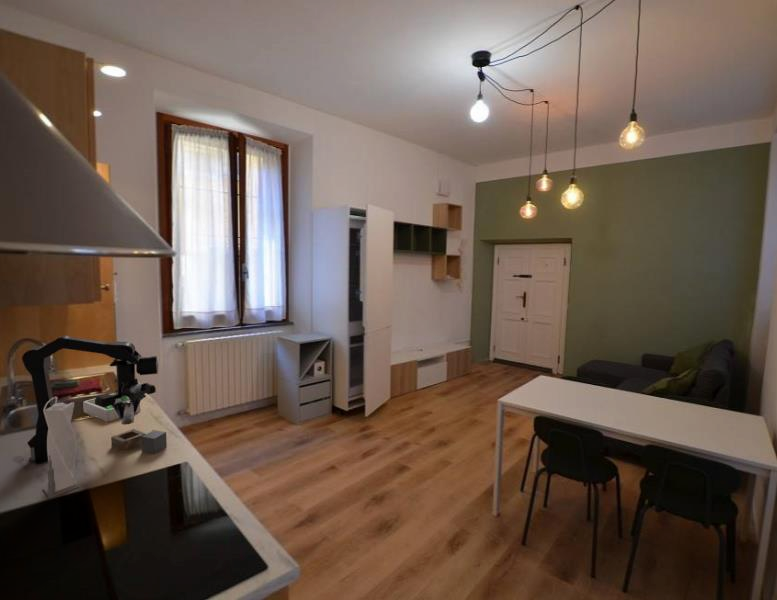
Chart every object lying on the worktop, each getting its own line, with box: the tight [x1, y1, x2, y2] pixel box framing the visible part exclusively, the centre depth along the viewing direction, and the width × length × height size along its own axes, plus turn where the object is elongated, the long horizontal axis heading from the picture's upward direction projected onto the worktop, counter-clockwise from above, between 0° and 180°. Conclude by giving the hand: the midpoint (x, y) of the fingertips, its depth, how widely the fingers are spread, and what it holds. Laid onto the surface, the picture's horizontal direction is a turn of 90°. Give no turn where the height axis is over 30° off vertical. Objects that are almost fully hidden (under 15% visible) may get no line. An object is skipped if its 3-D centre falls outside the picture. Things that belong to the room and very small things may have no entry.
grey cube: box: [141, 430, 168, 455], centre depth 144 cm, size 6×6×6 cm
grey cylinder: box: [120, 400, 135, 425], centre depth 145 cm, size 4×4×8 cm
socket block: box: [110, 428, 146, 453], centre depth 146 cm, size 8×8×4 cm
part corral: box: [82, 392, 141, 422], centre depth 177 cm, size 14×20×5 cm
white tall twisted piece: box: [43, 396, 80, 499], centre depth 118 cm, size 8×8×28 cm
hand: (127, 416), depth 145 cm, fingers closed on grey cylinder, 4 cm apart
